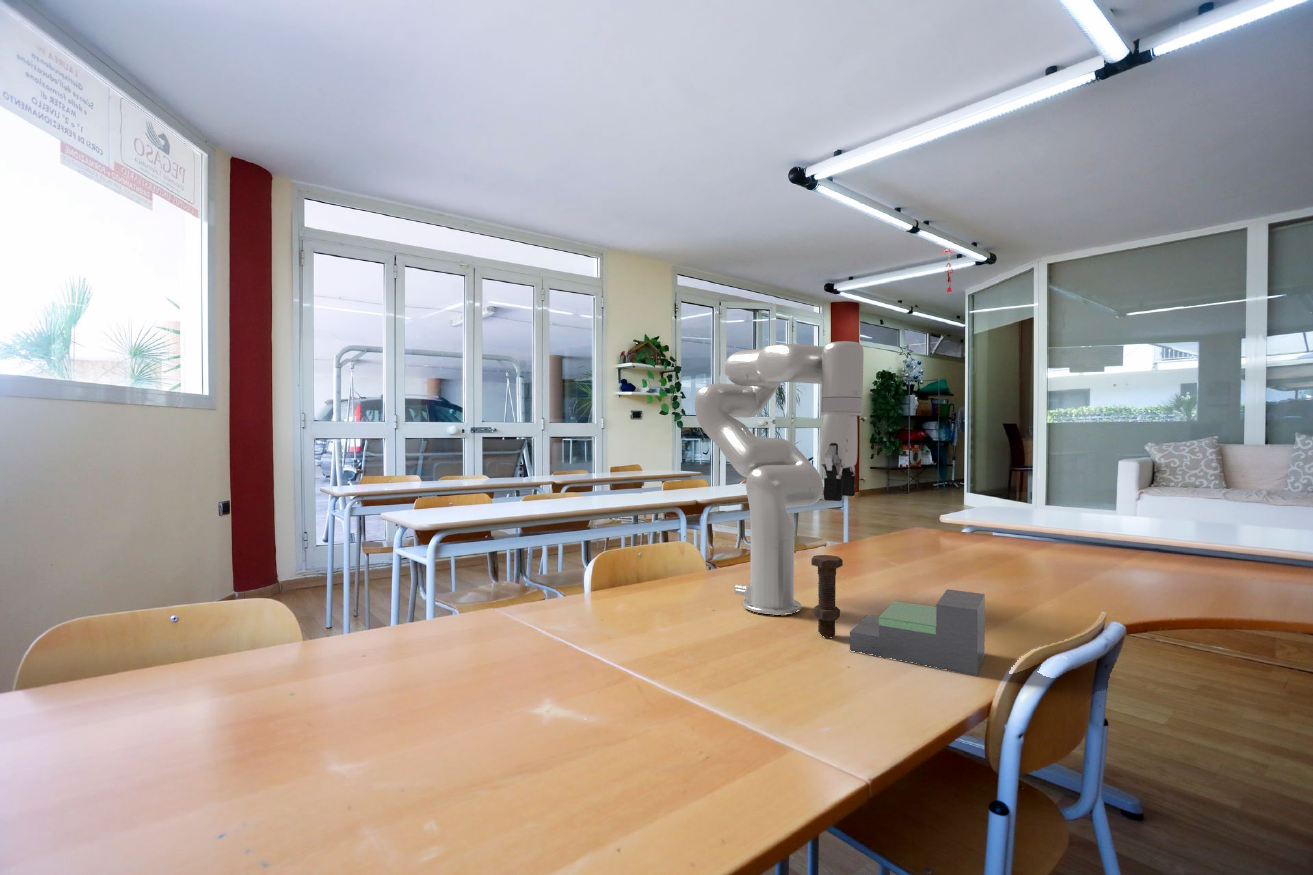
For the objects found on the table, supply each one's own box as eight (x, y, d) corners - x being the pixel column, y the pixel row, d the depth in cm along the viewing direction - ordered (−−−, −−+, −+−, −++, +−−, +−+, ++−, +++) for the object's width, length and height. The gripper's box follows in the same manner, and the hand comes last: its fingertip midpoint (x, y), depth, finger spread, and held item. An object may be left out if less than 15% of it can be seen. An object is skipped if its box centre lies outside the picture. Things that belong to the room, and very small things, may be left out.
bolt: (839, 632, 118) (840, 555, 118) (845, 641, 113) (845, 560, 113) (809, 631, 118) (809, 554, 118) (813, 639, 113) (813, 559, 113)
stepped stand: (849, 651, 107) (849, 592, 107) (867, 633, 117) (867, 578, 117) (977, 676, 96) (977, 610, 96) (984, 653, 106) (984, 593, 106)
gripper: (833, 409, 124) (832, 492, 125) (808, 406, 109) (806, 500, 110) (871, 409, 120) (869, 495, 121) (850, 406, 106) (848, 504, 106)
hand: (839, 497), depth 115 cm, fingers open, 9 cm apart
